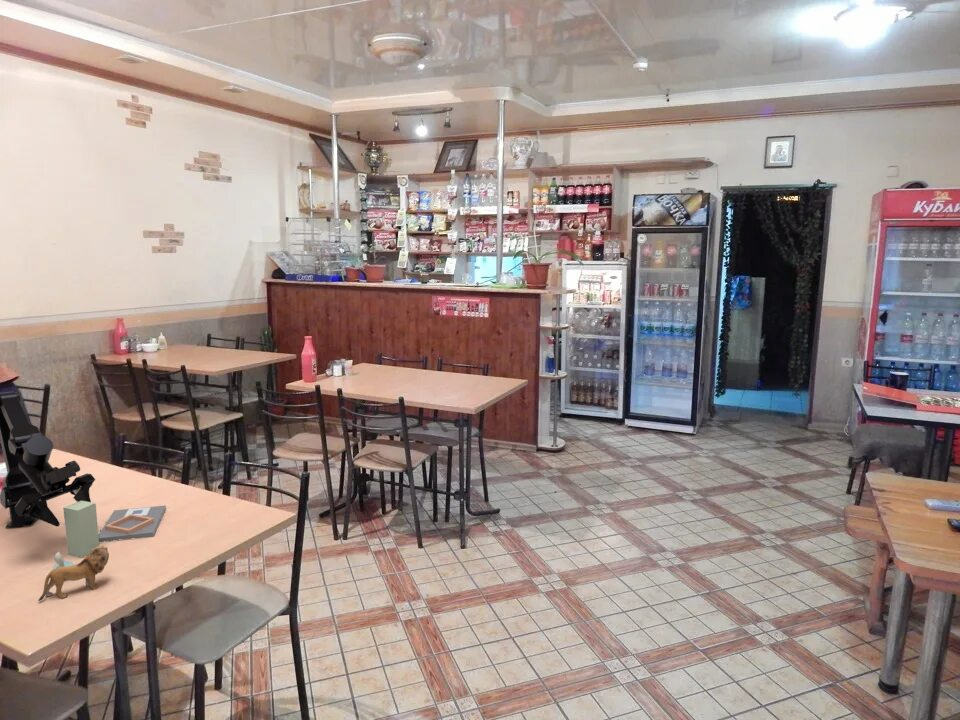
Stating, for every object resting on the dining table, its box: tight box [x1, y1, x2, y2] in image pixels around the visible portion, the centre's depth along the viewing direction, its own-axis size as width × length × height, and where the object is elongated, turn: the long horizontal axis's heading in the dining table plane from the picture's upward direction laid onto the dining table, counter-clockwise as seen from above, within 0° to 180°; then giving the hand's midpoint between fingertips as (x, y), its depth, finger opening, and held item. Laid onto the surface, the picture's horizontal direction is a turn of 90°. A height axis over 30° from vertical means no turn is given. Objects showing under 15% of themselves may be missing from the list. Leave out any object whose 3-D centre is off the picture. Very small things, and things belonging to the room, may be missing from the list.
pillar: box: [62, 501, 100, 559], centre depth 161 cm, size 5×5×13 cm
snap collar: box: [105, 514, 154, 535], centre depth 175 cm, size 9×9×1 cm
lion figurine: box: [37, 545, 110, 602], centre depth 143 cm, size 15×5×9 cm, turn 138°
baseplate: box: [98, 505, 167, 543], centre depth 179 cm, size 20×14×2 cm
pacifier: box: [51, 551, 76, 571], centre depth 150 cm, size 7×6×6 cm
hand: (75, 518), depth 161 cm, fingers open, 9 cm apart
